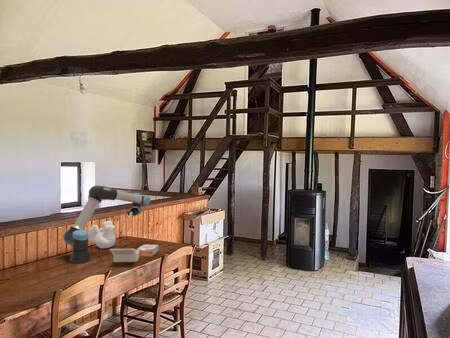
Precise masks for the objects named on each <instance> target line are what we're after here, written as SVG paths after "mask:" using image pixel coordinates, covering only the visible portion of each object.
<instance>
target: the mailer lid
mask: <svg viewBox="0 0 450 338" xmlns="http://www.w3.org/2000/svg"><path fill="white" fill-rule="evenodd" d="M135 250H136V249H135V248H110V249H109V251H110V252H111V253H112V255H113V256H114V255H133V254H137V253H136V251H135Z"/></svg>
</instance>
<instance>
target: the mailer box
mask: <svg viewBox="0 0 450 338" xmlns="http://www.w3.org/2000/svg"><path fill="white" fill-rule="evenodd" d="M135 251H136V253H137V254H133V255H113V263H137V262H138V261H139V259H140V256H139V250H136V249H135Z"/></svg>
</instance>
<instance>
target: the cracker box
mask: <svg viewBox="0 0 450 338" xmlns="http://www.w3.org/2000/svg"><path fill="white" fill-rule="evenodd" d="M135 250H139V257H148V258H151V257H153V256H154V255H156V254H157V253H158V252H159V251H160V244H153V243H152V244H149V243H147V244H146V243H144V244H142V245H141V246H139V247H138V248H136V249H135Z"/></svg>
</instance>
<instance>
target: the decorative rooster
mask: <svg viewBox="0 0 450 338" xmlns="http://www.w3.org/2000/svg"><path fill="white" fill-rule="evenodd" d="M102 225H103V227H100V228H99V227H98V225H97V224H94V225H92V226H91V227H90V228H89V230H88V231H87V232H88V236H89V237H88V242H89V241H90V242H91V243H92V244H93V243H94V244H95V245H96V246H97V247H98V248H99V249H108V248H111V247H113V246H114V245H115V244H116V240H117V239H116V236H115V228H116V226H115V225H113V222H112V221H110V220H106V221H103V223H102Z"/></svg>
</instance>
